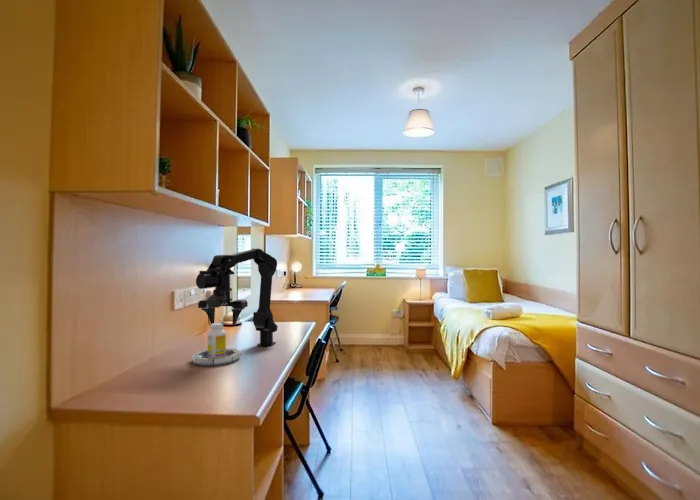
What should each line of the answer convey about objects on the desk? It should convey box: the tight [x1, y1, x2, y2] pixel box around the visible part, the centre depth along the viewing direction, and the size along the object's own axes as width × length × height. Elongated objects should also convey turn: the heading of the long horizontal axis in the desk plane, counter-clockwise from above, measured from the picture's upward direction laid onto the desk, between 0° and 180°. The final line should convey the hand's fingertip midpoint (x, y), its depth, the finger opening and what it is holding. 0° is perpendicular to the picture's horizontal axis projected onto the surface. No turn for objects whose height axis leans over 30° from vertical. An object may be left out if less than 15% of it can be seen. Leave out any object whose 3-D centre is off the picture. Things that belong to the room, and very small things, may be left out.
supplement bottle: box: [207, 322, 227, 358], centre depth 147 cm, size 7×7×13 cm
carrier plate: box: [191, 347, 242, 367], centre depth 147 cm, size 17×17×2 cm
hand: (223, 325), depth 152 cm, fingers open, 9 cm apart
